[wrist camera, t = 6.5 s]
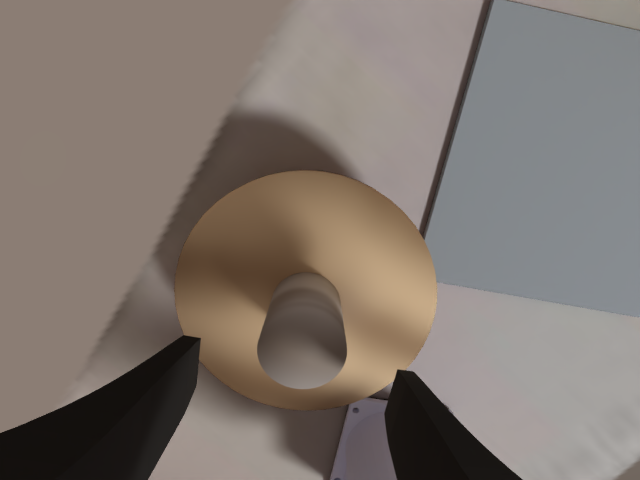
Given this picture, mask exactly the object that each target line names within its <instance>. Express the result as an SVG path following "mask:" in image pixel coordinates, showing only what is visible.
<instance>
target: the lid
mask: <svg viewBox="0 0 640 480" xmlns="http://www.w3.org/2000/svg"><path fill="white" fill-rule="evenodd" d="M174 293H175V305H176V310H177V315H178V319H179V323H180V325H181V328H182V331H183V333H184V335H186V336H192V337H198V338H201V343H200V353H199V360H200V361H201V363H202V364H203V365H204V366H205V367H206V368H207V369H208V370H209V371H210V372H211V373H212V374H213V375H214V376H215V377H216V378H218V379H219V380H220V381H221V382H222V383H224V384H225V385H227V386H228V387H230V388H231V389H233V390H234V391H236V392H238V393H240V394H242V395H244V396H246V397H248V398H250V399H252V400H255V401H258V402H260V403H263V404H266V405H270V406H274V407H278V408H284V409H291V410H308V411H309V410H324V409H330V408H336V407H341V406H344V405H348V404H351V403H354V402H357V401H359V400H362V399H364V398H366V397H369V396H371V395H372V394H374V393H376V392H378V391H380V390H381V389H383V388H384V387H386V386H387V385H388V384H390V383H391V382H393V381H394V379H395V376H396V372H397V369H399V370H406V369H407V367H408V366H409V365H410V364H411V363H412V362H413V360H414V359H415V358H416V356H417V355H418V353H419V352H420V350H421V348H422V347H423V345H424V343H425V341H426V339H427V337H428V335H429V332H430V329H431V326H432V323H433V320H434V316H435V310H436V304H437V282H436V274H435V269H434V265H433V261H432V258H431V255H430V252H429V250H428V248H427V245H426V243H425V241H424V239H423V237H422V236H421V234H420V233H419V231H418V229H417V228H416V226H415V225H414V224H413V222H412V221H411V220H410V219H409V218H408V216H407V215H406V214H405V213H404V212H403V211H402V210H401V209H400V208H399V207H398V206H396V205H395V204H394V203H393V202H392V201H391V200H390V199H388V198H387V197H385V196H384V195H382V194H381V193H379V192H378V191H376V190H375V189H373V188H372V187H370V186H368V185H366V184H364V183H362V182H360V181H358V180H355V179H352V178H349V177H346V176H343V175H340V174H336V173H331V172H325V171H316V170H295V171H284V172H280V173H275V174H271V175H267V176H264V177H261V178H259V179H256V180H253V181H251V182H249V183H246V184H245V185H243V186H241V187H239V188H237V189H235V190H233V191H231V192H230V193H228V194H227V195H226V196H224V197H223V198H222V199H220V200H219V201H217V202H216V203H215V204H214V205H213V206H212V207H211V208H210V209H209V210H208V211H207V212H206V213H205V214H204V215H203V216H202V217H201V219H200V220H199V221H198V222H197V224H196V225H195V226H194V228H193V229H192V231H191V233H190V234H189V236H188V238H187V240H186V242H185V243H184V246H183V249H182V251H181V254H180V257H179V260H178V265H177V269H176V274H175V288H174Z"/></svg>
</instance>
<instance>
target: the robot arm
mask: <svg viewBox="0 0 640 480" xmlns="http://www.w3.org/2000/svg"><path fill="white" fill-rule="evenodd" d="M200 343H201V338H198V337H192V336H186V335H183V336H182V337H180V338H179V339H177V340H176V341H174V342H173V343H171V344H170V345H168V346H167V347H165V348H164V349H163V350H161V351H160V352H158V353H157V354H155V355H154V356H152V357H151V358H149V359H148V360H146V361H145V362H143V363H141V364H140V365H138V366H137V367H135V368H134V369H132V370H131V371H129V372H127V373H126V374H124V375H122V376H120V377H119V378H117V379H115V380H114V381H112V382H110V383H109V384H107V385H105V386H103V387H102V388H100V389H98V390H96V391H94V392H92V393H90V394H88V395H86V396H84V397H82V398H80V399H78V400H76V401H74V402H72V403H70V404H68V405H66V406H64V407H62V408H60V409H57V410H55V411H53V412H50V413H48V414H46V415H44V416H41V417H39V418H37V419H34V420H32V421H30V422H28V423H26V424H23V425H20V426H18V427H15V428H13V429H10V430H7V431H5V432H2V433H0V480H148V478H149V477H150V475H151V473H152V471H153V470H154V468H155V466H156V464H157V462H158V461H159V459H160V457H161V455H162V453H163V452H164V450H165V448H166V446H167V445H168V443H169V441H170V439H171V437H172V436H173V434H174V432H175V430H176V428H177V427H178V425H179V423H180V421H181V419H182V418H183V416H184V414H185V412H186V409H187V407H188V405H189V402H190V400H191V397H192V395H193V393H194V390H195V388H196V384H197V374H198V364H199V353H200ZM353 408H357V409H353ZM330 480H522V479H521V478H520V477H519V476H518V475H516V474H515V473H514V472H513V471H511V470H510V469H509V468H508V467H507V466H506V465H505V464H503V463H502V462H501V461H500V460H499V459H498V458H497V457H496V456H494V455H493V454H492V453H491V452H490V451H489V450H488V449H487V448H486V447H485V446H483V445H482V444H481V443H480V442H479V441H478V440H477V439H476V438H475V437H474V436H473V435H472V434H471V433H470V432H469V431H468V430H467V429H466V428H465V427H464V426H463V425H462V424H461V423H460V422H459V421H458V420H457V419H456V417H455V416H454V415H453V413H452V412H451V411H450V410H448V409H447V408H446V407H445V406H444V405H443V403H442V402H441V401H440V400H439V399H438V398H437V397H436V396H435V395H434V393H433V392H432V391H431V390H430V389H429V388H428V387H427V386H426V384H425V383H424V382H423V381H422V380H421V379H420V378H419V377H418V376H417V375H416V374H415V373H414V372H412V371H406V370H399V369H397V372H396V376H395V379H394V382H393V386H392V389H391V392H390V396H389V399H388V401H386V400H380V399H373V398H367V397H366V398H364V399H362V400H359V401H357V402H354V403H351V404H349V407H348V411H347V414H346V418H345V422H344V426H343V430H342V434H341V438H340V441H339V445H338V449H337V453H336V457H335V461H334V464H333V468H332V472H331V476H330Z"/></svg>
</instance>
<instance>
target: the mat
mask: <svg viewBox="0 0 640 480" xmlns="http://www.w3.org/2000/svg"><path fill="white" fill-rule="evenodd" d="M423 239H424V241H425V243H426V245H427V248H428V250H429V252H430V255H431V258H432V261H433V265H434V269H435V274H436V282H439V283H444V284H450V285H456V286H462V287H467V288H473V289H479V290H484V291H490V292H496V293H502V294H507V295H513V296H519V297H524V298H530V299H536V300H542V301H547V302H553V303H559V304H565V305H570V306H576V307H582V308H587V309H593V310H599V311H605V312H610V313H616V314H622V315H627V316H633V317H640V31H638V30H634V29H629V28H625V27H621V26H616V25H612V24H607V23H603V22H599V21H594V20H590V19H586V18H581V17H577V16H572V15H568V14H564V13H559V12H555V11H551V10H546V9H542V8H537V7H533V6H529V5H524V4H520V3H516V2H511V1H507V0H492V1H491V2H490V6H489V9H488V13H487V16H486V20H485V23H484V27H483V30H482V34H481V37H480V41H479V44H478V48H477V51H476V54H475V58H474V61H473V65H472V68H471V72H470V75H469V79H468V82H467V86H466V89H465V93H464V96H463V100H462V103H461V107H460V110H459V114H458V117H457V121H456V124H455V127H454V131H453V134H452V138H451V141H450V145H449V148H448V152H447V155H446V159H445V162H444V166H443V169H442V173H441V176H440V180H439V183H438V187H437V190H436V194H435V197H434V200H433V204H432V207H431V211H430V214H429V218H428V221H427V225H426V228H425V232H424V235H423Z"/></svg>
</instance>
